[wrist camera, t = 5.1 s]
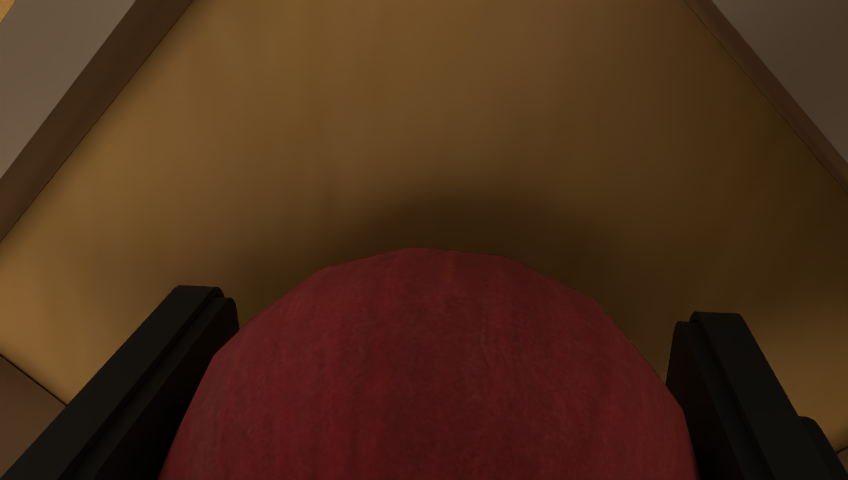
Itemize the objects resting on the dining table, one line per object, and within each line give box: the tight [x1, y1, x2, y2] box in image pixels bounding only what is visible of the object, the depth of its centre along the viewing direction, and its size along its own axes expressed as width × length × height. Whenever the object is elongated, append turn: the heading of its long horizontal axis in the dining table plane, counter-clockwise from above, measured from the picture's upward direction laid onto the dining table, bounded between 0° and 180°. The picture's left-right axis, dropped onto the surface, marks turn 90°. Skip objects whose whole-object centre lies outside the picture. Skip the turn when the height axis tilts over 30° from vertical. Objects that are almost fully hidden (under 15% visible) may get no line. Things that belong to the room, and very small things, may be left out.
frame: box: [0, 0, 848, 478], centre depth 11 cm, size 14×14×2 cm
